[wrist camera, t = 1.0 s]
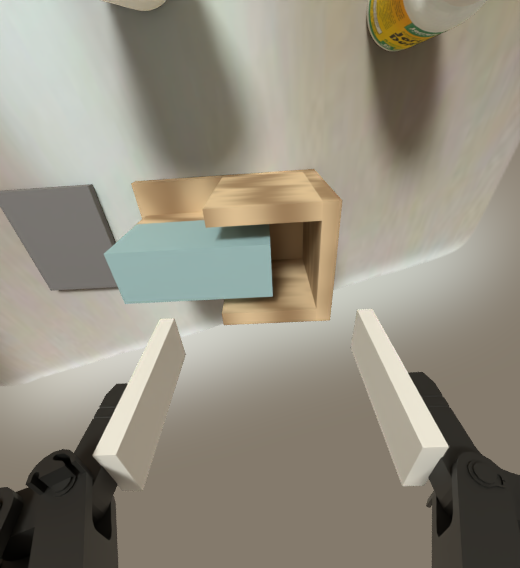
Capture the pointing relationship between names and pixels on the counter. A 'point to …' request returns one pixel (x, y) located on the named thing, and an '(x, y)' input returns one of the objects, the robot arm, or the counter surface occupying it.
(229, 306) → the cradle
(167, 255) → the bar
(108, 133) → the counter surface
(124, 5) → the cup
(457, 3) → the supplement bottle
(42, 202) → the mat
